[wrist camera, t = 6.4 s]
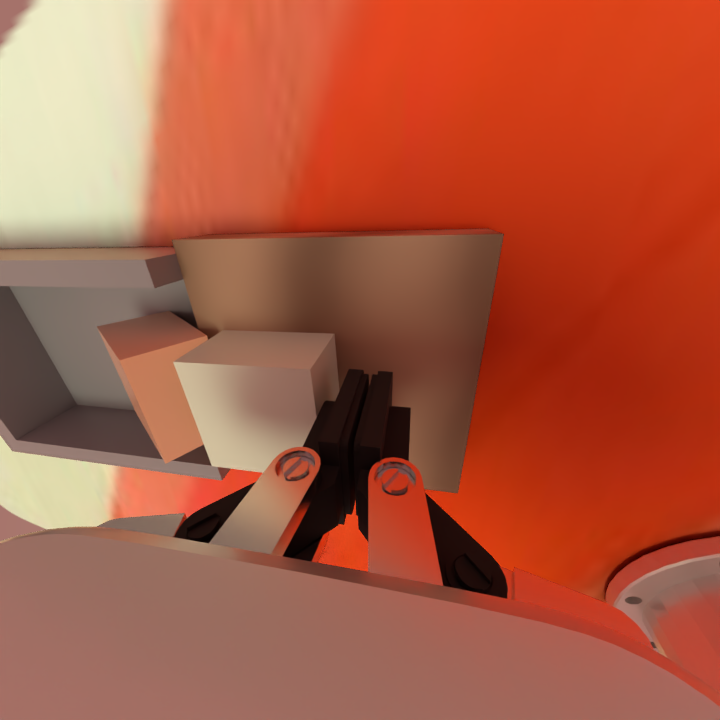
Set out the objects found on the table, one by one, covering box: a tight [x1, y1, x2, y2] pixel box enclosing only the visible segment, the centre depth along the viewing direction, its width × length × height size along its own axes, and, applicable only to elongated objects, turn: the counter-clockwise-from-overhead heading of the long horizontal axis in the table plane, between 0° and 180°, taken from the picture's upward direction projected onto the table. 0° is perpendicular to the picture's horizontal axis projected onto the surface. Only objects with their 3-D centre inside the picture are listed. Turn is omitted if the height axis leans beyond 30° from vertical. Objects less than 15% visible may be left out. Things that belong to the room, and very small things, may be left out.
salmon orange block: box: [97, 311, 208, 464], centre depth 14 cm, size 5×5×3 cm
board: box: [172, 229, 504, 493], centre depth 14 cm, size 12×12×2 cm
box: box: [0, 246, 231, 480], centre depth 16 cm, size 14×11×4 cm
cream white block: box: [173, 330, 339, 473], centre depth 12 cm, size 5×5×3 cm
